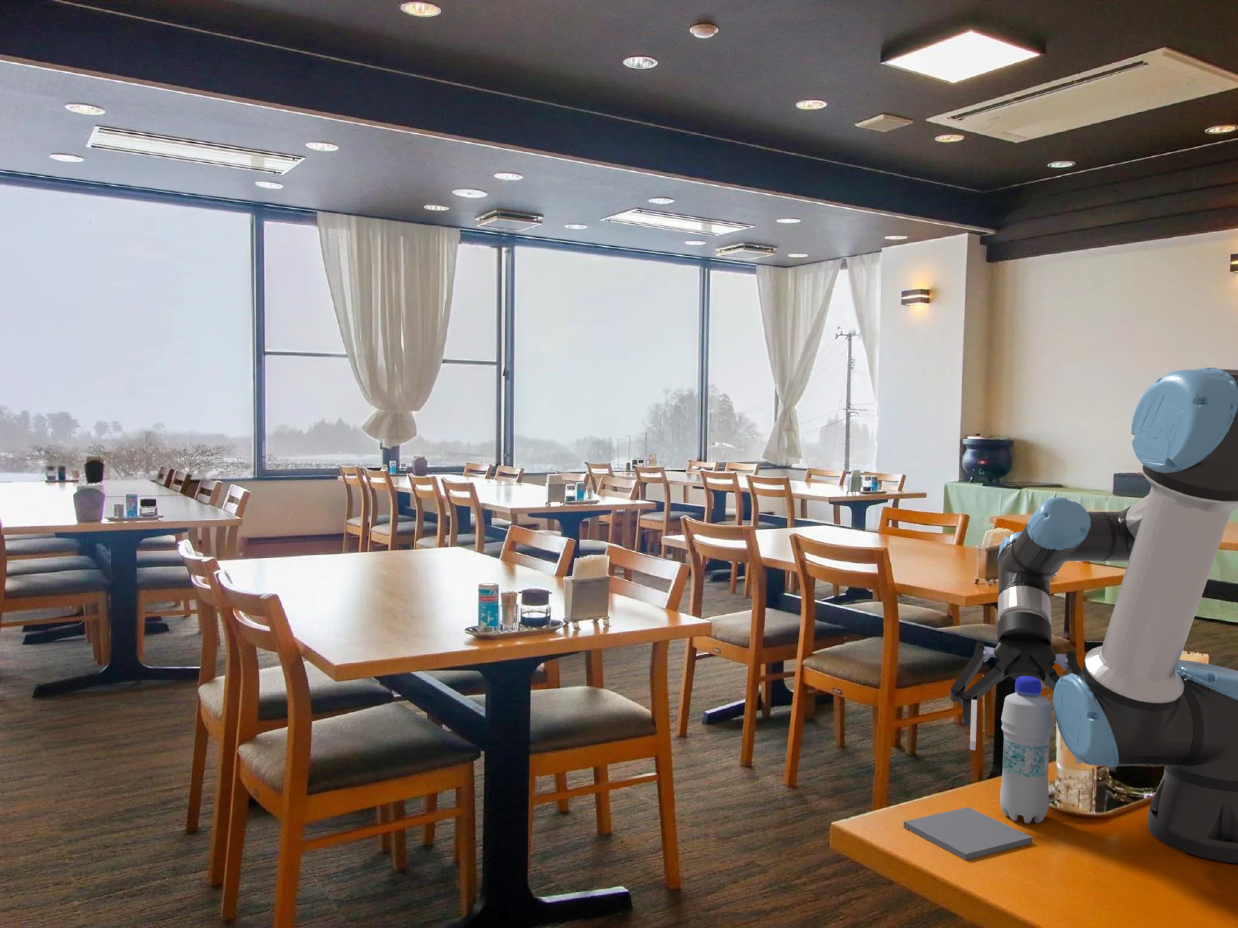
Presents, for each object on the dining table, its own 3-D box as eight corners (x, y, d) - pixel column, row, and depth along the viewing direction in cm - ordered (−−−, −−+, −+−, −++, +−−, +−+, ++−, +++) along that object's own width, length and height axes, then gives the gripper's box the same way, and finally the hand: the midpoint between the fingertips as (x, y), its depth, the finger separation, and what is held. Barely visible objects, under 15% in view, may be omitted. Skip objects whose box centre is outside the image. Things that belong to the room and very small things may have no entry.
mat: (1032, 842, 127) (1032, 836, 127) (965, 860, 122) (965, 853, 122) (967, 812, 137) (967, 806, 137) (903, 826, 132) (903, 821, 132)
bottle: (1054, 829, 132) (1060, 684, 131) (1002, 824, 133) (1007, 680, 132) (1043, 810, 139) (1048, 671, 138) (994, 805, 140) (998, 668, 139)
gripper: (1112, 645, 146) (1122, 777, 132) (938, 629, 154) (930, 752, 141) (1118, 616, 140) (1129, 751, 127) (938, 602, 149) (930, 727, 136)
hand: (1025, 752), depth 134 cm, fingers open, 13 cm apart
